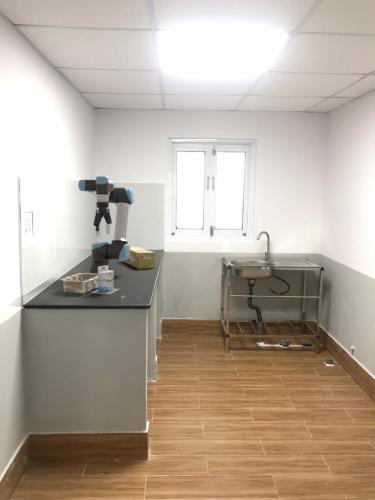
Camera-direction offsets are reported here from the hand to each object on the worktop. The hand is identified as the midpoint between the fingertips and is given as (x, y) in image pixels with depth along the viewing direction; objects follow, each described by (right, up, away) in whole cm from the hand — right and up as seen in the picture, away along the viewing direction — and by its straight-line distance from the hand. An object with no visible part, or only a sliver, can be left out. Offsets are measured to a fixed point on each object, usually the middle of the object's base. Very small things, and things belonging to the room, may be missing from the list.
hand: (103, 235), depth 266 cm
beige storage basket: (-10, -33, -9) cm, 36 cm away
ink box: (+5, -34, -15) cm, 37 cm away
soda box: (+13, -22, +80) cm, 84 cm away
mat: (+4, -34, -15) cm, 37 cm away
